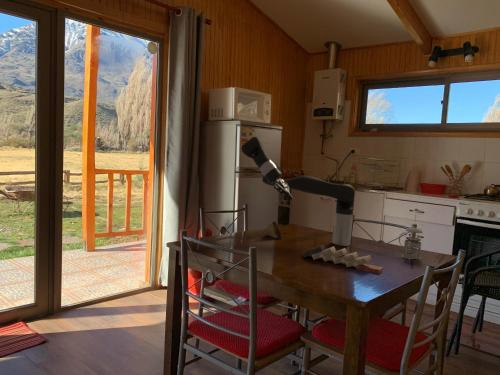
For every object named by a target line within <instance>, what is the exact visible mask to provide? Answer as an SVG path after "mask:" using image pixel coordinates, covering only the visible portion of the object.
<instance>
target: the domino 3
mask: <svg viewBox="0 0 500 375" xmlns="http://www.w3.org/2000/svg"><path fill="white" fill-rule="evenodd" d="M346 254H348V251H347V249H346V247H344V248H341V249H338V250H336V252H334V253H332V254H329V255H326V256H323V257H322V259H323V262H328V261H331V260H333V259H334V258H337V257H340V256H342V255H346Z"/></svg>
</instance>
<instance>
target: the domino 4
mask: <svg viewBox="0 0 500 375" xmlns="http://www.w3.org/2000/svg"><path fill="white" fill-rule="evenodd" d="M358 257H359V255H358V252H357V251H355V252H351V253H346V254H345V255H342V256H340V257H337V258H334V259H332V261H333V264H334V265H336V264H337V265H338V264H341V263H345V262H346V261H350V260H355V259H356V258H358Z"/></svg>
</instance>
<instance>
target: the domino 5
mask: <svg viewBox="0 0 500 375" xmlns="http://www.w3.org/2000/svg"><path fill="white" fill-rule="evenodd" d="M370 262H372V257H371V255H370V254H369V255H364V256H358V258H356V259H355V260H350V261H346V262H344V263H345V265H346V268H350V267H354V266H355V267H356V265H361V264H368V263H370Z"/></svg>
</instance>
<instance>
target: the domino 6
mask: <svg viewBox="0 0 500 375" xmlns="http://www.w3.org/2000/svg"><path fill="white" fill-rule="evenodd" d="M355 270H358V271H364V272H366V273H367V272H368V273H373V274H379V275H380V274H381V273H382V271H383V267H382V266H377V265H373V264H368V263H366V264H361V265H356V266H355Z"/></svg>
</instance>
